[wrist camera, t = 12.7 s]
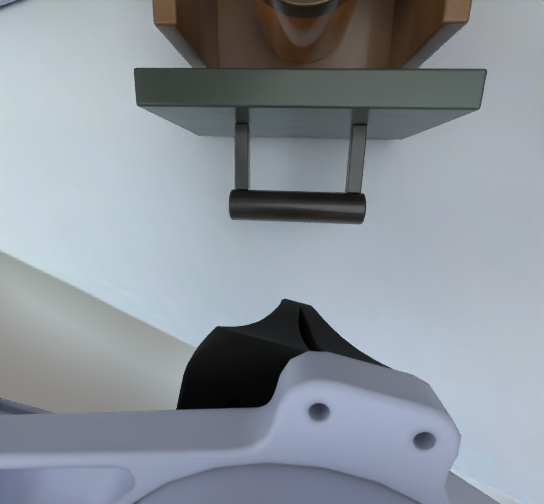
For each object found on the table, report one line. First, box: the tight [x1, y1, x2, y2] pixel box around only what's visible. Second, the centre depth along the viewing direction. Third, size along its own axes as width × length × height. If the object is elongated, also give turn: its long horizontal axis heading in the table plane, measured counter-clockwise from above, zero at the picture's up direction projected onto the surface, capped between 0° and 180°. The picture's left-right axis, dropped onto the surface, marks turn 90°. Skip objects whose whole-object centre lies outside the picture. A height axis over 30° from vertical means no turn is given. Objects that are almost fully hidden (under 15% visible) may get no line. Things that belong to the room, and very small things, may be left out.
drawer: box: [134, 0, 487, 224], centre depth 12 cm, size 18×11×7 cm, turn 178°
